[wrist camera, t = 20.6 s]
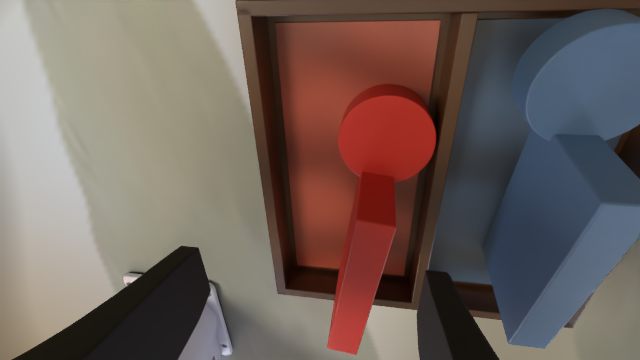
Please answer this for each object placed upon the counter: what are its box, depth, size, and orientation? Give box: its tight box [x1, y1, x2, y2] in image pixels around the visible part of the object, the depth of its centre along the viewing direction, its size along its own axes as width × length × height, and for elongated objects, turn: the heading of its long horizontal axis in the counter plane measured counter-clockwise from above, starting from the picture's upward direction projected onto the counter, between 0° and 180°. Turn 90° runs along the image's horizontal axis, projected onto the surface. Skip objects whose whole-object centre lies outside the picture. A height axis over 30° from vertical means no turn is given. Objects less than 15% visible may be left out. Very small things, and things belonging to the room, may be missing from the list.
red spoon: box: [327, 84, 436, 355], centre depth 16 cm, size 13×4×6 cm, turn 174°
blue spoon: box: [482, 9, 640, 348], centre depth 13 cm, size 13×4×6 cm, turn 2°
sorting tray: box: [236, 0, 640, 328], centre depth 17 cm, size 17×18×2 cm
